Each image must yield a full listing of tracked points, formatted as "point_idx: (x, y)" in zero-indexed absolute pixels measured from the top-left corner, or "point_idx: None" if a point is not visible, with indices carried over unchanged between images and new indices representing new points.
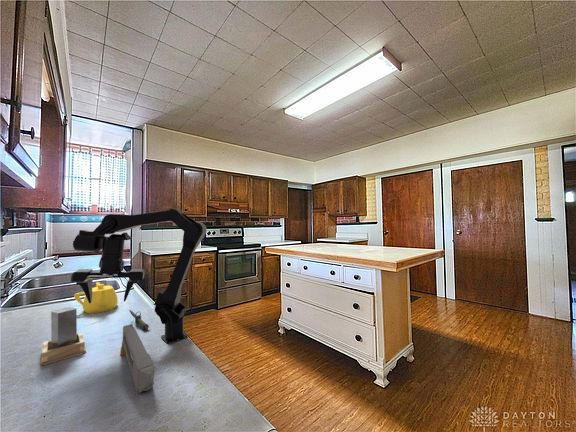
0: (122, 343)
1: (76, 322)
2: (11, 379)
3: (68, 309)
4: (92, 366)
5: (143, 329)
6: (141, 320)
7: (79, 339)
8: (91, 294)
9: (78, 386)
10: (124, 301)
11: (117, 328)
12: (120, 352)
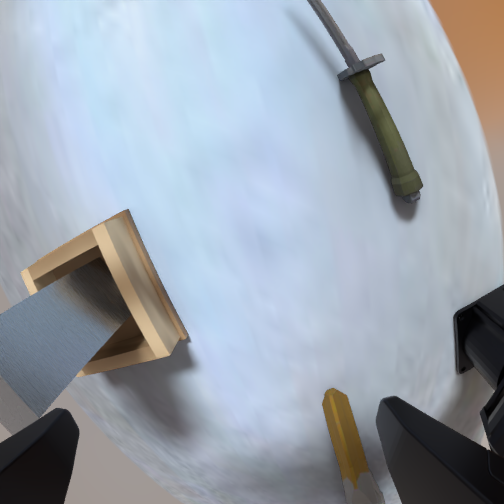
0: (337, 449)
1: (83, 366)
2: (78, 394)
3: (8, 402)
4: (252, 430)
5: (395, 193)
6: (385, 112)
7: (133, 316)
8: (35, 471)
9: (252, 480)
10: (380, 418)
11: (244, 85)
12: (326, 419)
